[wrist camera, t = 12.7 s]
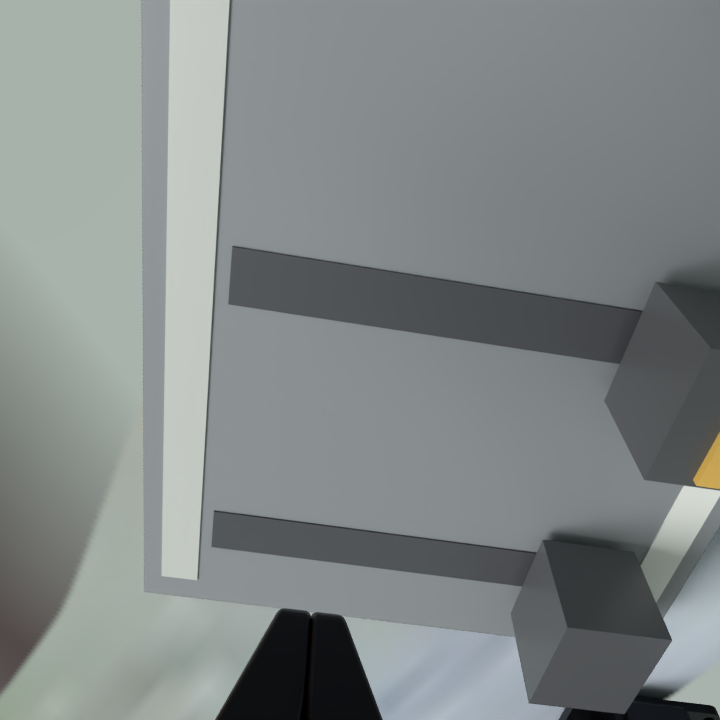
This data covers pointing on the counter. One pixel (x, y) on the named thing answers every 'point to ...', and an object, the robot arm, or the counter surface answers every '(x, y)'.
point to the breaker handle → (672, 388)
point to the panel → (423, 313)
